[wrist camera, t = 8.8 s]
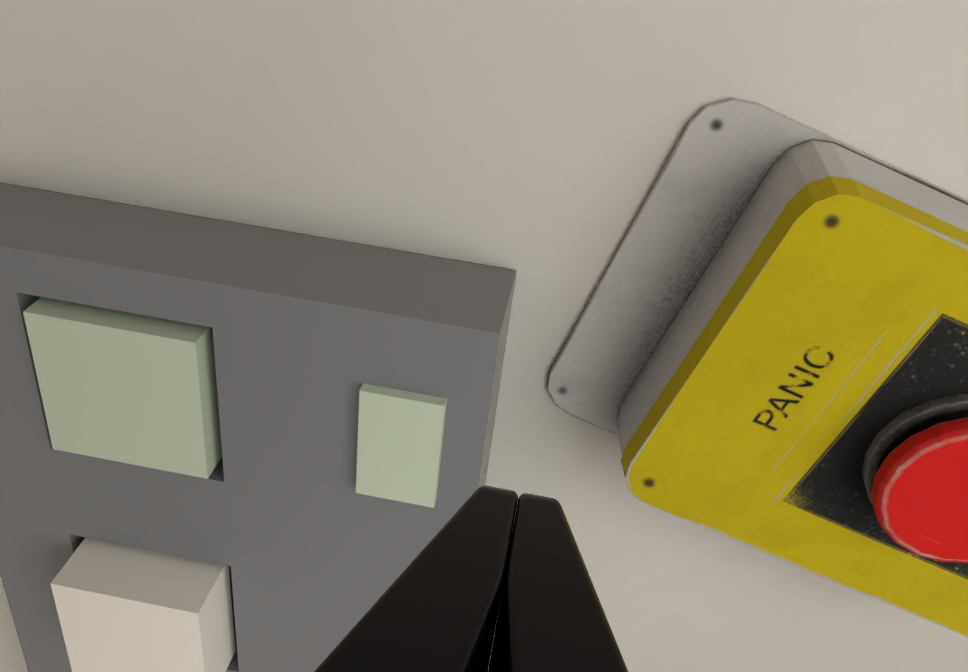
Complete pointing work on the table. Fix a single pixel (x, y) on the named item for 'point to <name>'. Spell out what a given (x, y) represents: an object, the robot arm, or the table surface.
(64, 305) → the sage key
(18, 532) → the keypad
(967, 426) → the emergency button
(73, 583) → the offwhite key
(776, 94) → the table surface
